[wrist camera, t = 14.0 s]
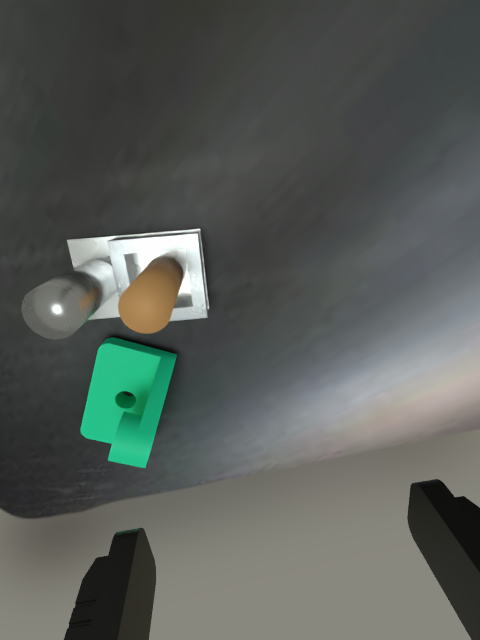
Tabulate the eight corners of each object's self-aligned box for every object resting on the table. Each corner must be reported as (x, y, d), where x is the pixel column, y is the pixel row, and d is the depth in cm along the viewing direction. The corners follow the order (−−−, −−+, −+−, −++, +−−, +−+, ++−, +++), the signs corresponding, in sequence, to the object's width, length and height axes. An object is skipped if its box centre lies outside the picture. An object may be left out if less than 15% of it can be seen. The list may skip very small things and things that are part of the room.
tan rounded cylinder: (138, 270, 33) (106, 303, 23) (167, 248, 33) (148, 273, 22) (162, 298, 34) (142, 342, 24) (190, 278, 34) (182, 314, 24)
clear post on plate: (200, 228, 33) (193, 243, 23) (209, 306, 36) (206, 350, 26) (69, 239, 32) (4, 259, 22) (88, 317, 35) (39, 366, 25)
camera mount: (108, 331, 36) (68, 380, 26) (178, 350, 37) (165, 404, 28) (87, 421, 40) (46, 494, 30) (151, 436, 41) (132, 510, 31)
